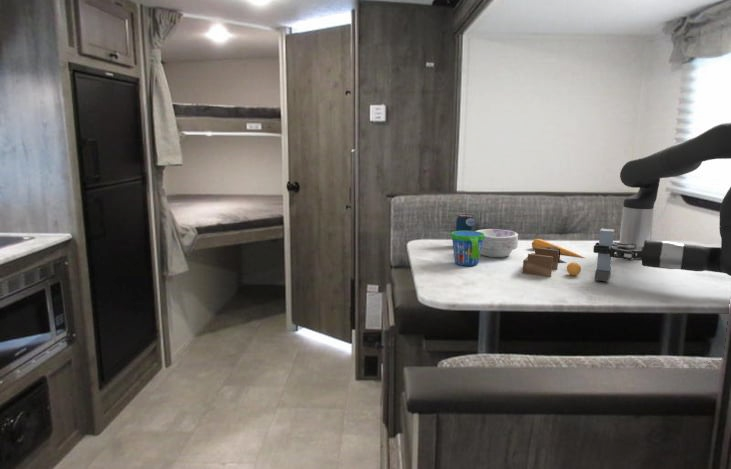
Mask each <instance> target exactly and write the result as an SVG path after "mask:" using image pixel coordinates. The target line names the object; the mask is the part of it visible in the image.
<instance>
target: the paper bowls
mask: <svg viewBox="0 0 731 469" xmlns="http://www.w3.org/2000/svg"><path fill="white" fill-rule="evenodd" d="M476 231H477V232H482V233H484V235H485V238H484V240H483V242H482V248H481V253H480V255H482V256H485V257H490V258H505V257H508V256H510V255H511V253H512V251H513V250H516V249H517V248H518V244H519V233H517V231H516V232H515V231H513V230H508V229H498V228H485V229H478V230H476Z"/></svg>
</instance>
